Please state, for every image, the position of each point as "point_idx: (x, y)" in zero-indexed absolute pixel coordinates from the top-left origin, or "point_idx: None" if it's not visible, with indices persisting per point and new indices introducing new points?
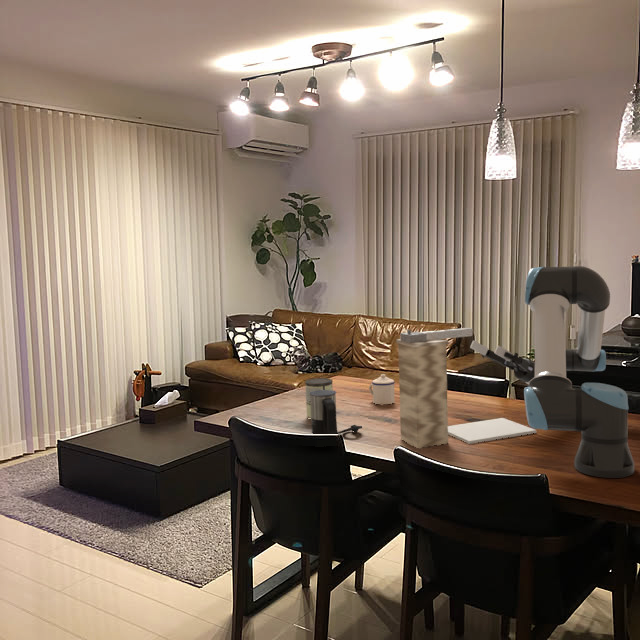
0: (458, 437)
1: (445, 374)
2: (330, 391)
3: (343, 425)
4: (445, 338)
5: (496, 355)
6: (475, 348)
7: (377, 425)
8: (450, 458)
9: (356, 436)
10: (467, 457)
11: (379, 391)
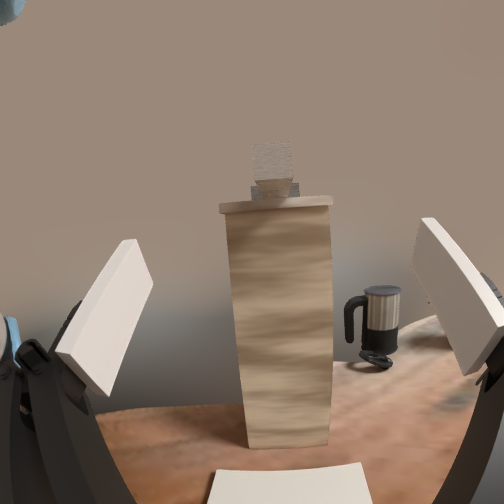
0: (264, 472)
1: (233, 300)
2: (387, 291)
3: (425, 360)
4: (263, 197)
5: (480, 445)
6: (426, 280)
7: (422, 389)
8: (178, 417)
9: (362, 368)
10: (161, 432)
11: None
